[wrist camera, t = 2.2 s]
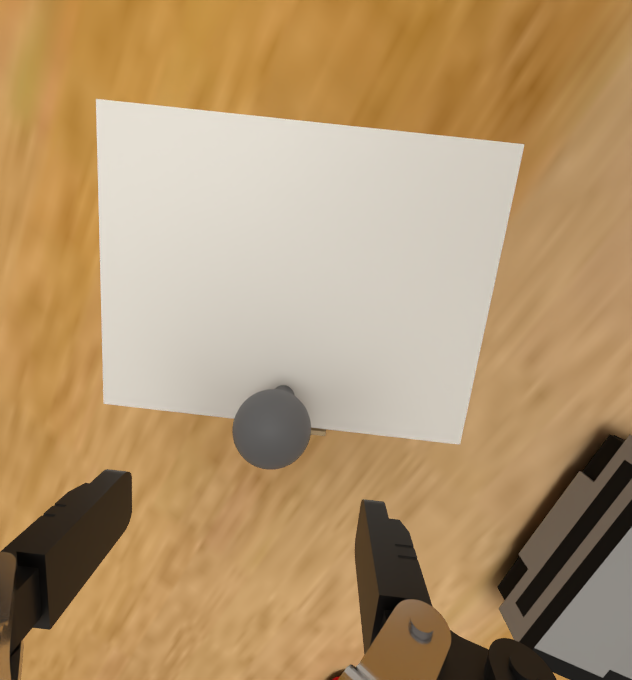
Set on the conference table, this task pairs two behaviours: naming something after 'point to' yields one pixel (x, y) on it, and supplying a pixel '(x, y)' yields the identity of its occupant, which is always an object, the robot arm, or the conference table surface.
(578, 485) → the game console
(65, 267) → the conference table surface
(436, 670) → the robot arm
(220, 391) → the flap
